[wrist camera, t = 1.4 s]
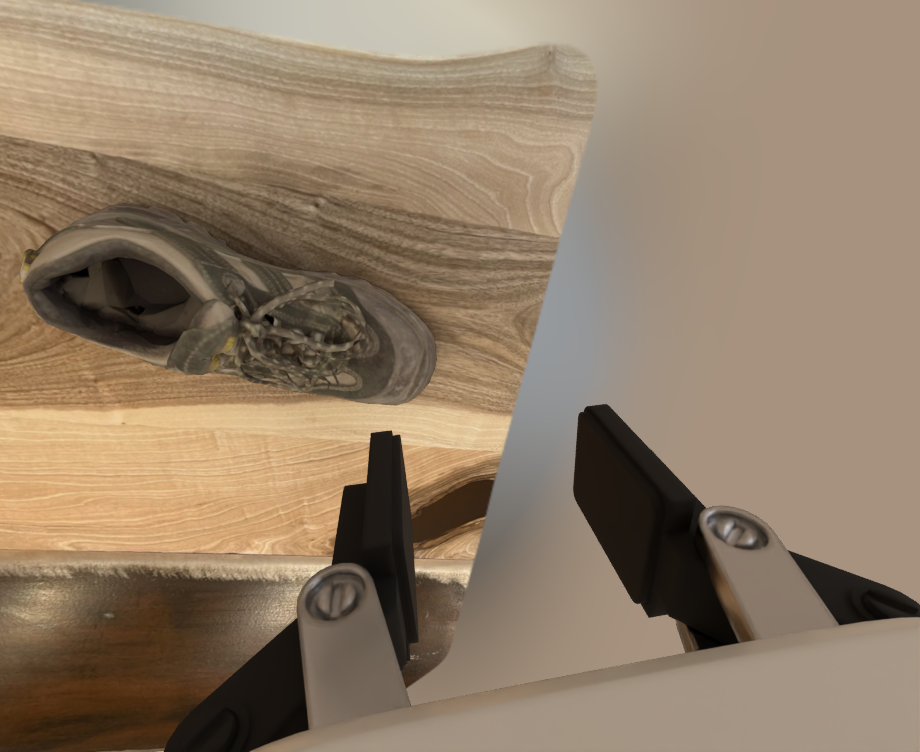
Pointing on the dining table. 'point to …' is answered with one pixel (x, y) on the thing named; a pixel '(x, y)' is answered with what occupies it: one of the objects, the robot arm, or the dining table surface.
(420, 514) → the dining table surface
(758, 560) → the robot arm
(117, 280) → the hiking shoe
